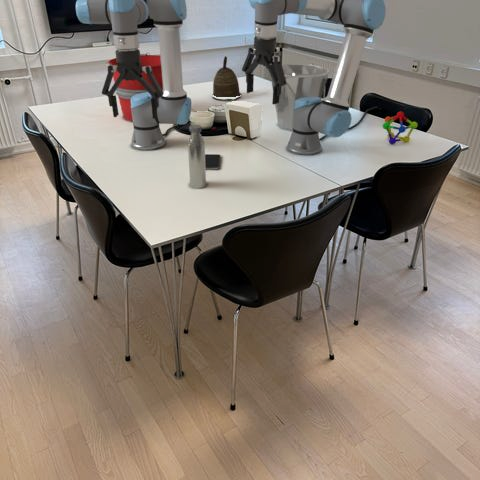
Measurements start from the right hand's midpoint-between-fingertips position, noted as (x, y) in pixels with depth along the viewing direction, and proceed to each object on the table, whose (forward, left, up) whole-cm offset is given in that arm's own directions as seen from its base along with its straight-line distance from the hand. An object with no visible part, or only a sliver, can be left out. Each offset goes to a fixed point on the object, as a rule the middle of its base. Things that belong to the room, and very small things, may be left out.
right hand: (262, 97), depth 163 cm
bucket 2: (-58, -35, -30) cm, 74 cm away
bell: (-66, -103, -30) cm, 126 cm away
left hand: (+44, -16, -2) cm, 47 cm away
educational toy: (-74, +15, -30) cm, 82 cm away
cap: (+25, -8, -8) cm, 28 cm away
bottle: (+25, -8, -30) cm, 40 cm away
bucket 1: (-6, -100, -30) cm, 105 cm away
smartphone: (+8, -22, -30) cm, 38 cm away
